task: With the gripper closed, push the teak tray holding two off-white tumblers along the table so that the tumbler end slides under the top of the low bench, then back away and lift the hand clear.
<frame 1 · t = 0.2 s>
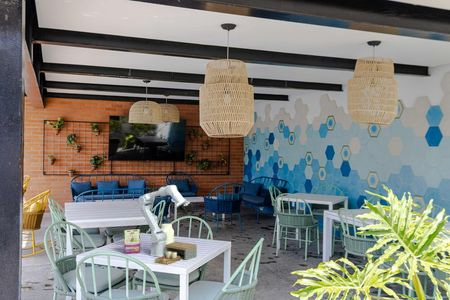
hand: (190, 213, 277), 31 cm above the table, tool tilted 50°, fingers open, 7 cm apart
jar: (166, 243, 331), on the table
candy bar box: (132, 253, 301), on the table
tray: (167, 261, 277), on the table
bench: (180, 256, 289), on the table
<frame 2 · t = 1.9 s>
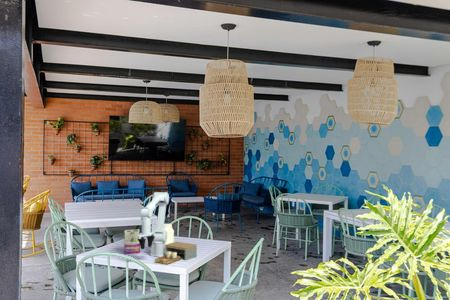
hand: (146, 248, 273), 10 cm above the table, tool pointing down, fingers open, 6 cm apart
nothing on the table moved.
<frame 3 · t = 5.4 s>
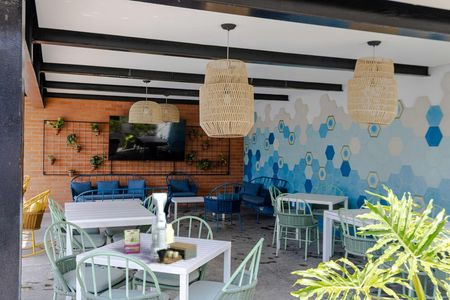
hand: (161, 261, 272), 2 cm above the table, tool pointing down, fingers closed
tray: (169, 260, 278), on the table, touching gripper
everything else where it was.
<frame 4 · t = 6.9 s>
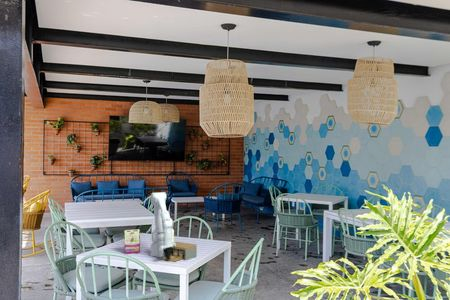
hand: (167, 258, 277), 2 cm above the table, tool pointing down, fingers closed
tray: (175, 258, 284), on the table, touching gripper
everything else where it was.
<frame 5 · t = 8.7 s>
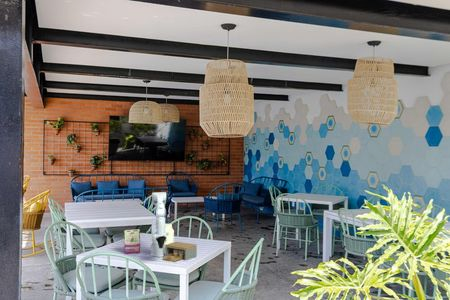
hand: (160, 248, 273), 10 cm above the table, tool pointing down, fingers closed
tray: (175, 258, 284), on the table
everything else where it was.
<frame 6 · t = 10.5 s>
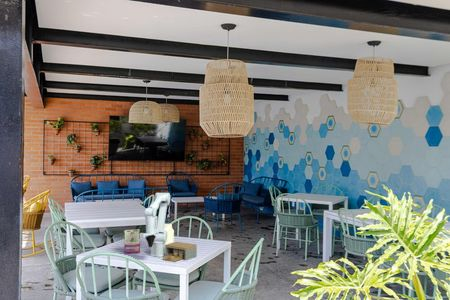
hand: (150, 246, 276), 10 cm above the table, tool pointing down, fingers closed
nothing on the table moved.
at the end: tray 0.9 cm from the target spot on the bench, point 0.0 cm above the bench's base; tray tilted 0°; tray moved 7.8 cm from its start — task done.
